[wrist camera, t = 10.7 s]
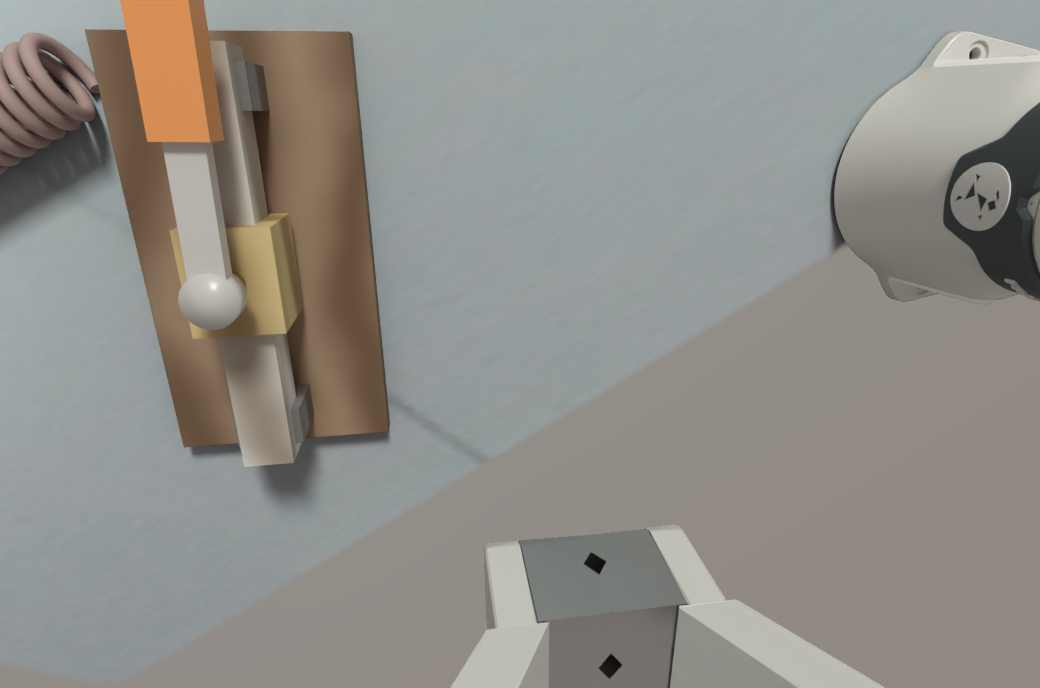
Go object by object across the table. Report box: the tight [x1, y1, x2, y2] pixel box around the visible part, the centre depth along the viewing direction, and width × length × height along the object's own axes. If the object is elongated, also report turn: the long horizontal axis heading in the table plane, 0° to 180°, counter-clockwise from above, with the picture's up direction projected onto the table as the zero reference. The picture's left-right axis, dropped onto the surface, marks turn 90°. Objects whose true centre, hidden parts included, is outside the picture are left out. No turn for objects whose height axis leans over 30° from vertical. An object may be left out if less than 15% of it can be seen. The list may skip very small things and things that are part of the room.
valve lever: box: [121, 0, 247, 330], centre depth 28 cm, size 15×3×2 cm, turn 179°
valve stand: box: [85, 30, 390, 467], centre depth 36 cm, size 14×26×9 cm, turn 1°
